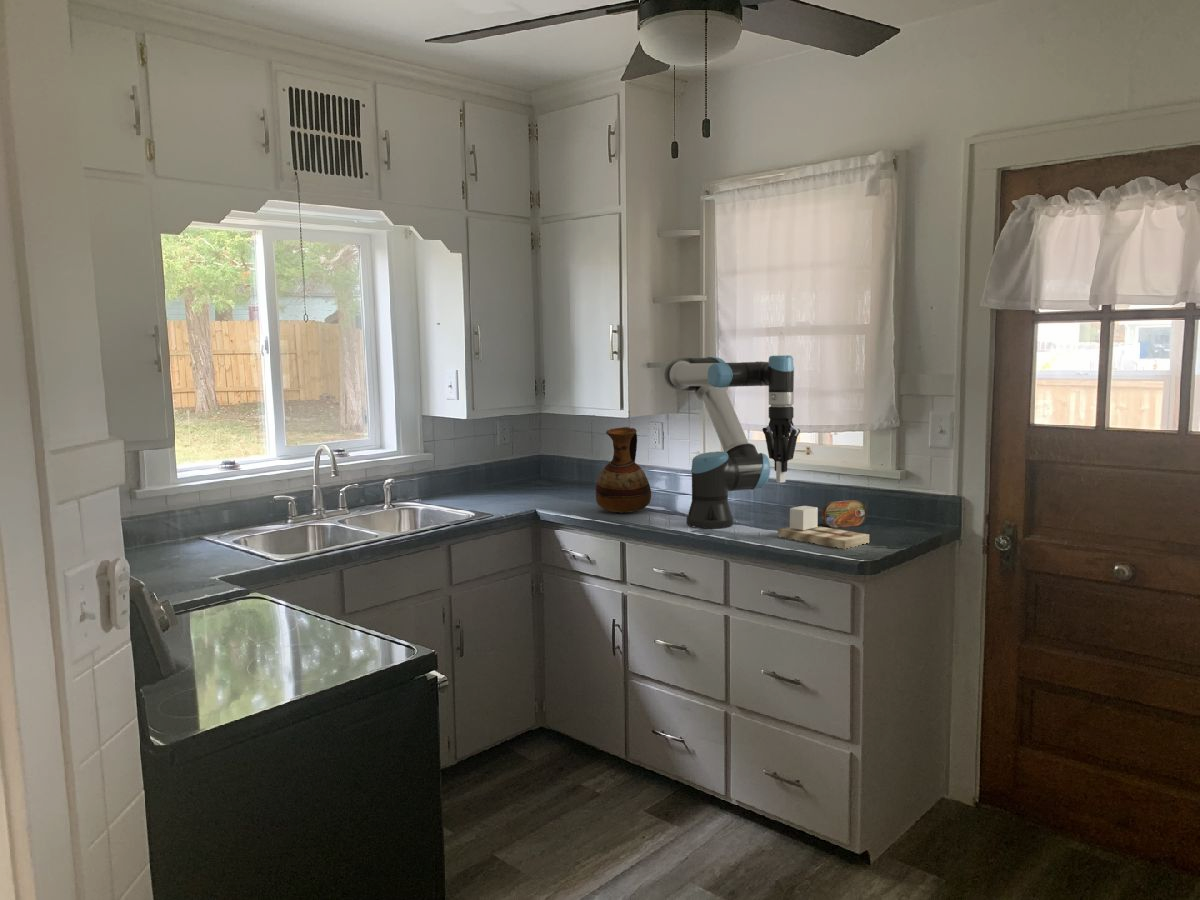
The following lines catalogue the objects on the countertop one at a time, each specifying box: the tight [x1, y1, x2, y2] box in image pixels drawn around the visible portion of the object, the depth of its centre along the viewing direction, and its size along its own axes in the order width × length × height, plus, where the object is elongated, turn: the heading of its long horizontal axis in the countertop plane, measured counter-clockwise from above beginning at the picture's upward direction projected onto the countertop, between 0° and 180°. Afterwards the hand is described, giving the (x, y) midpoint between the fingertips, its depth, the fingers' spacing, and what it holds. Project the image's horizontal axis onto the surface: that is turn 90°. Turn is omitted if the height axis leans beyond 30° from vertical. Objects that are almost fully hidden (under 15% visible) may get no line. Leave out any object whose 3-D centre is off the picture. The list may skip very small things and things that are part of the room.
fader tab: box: [789, 505, 819, 530], centre depth 280 cm, size 5×7×6 cm
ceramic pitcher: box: [595, 426, 652, 514], centre depth 328 cm, size 20×20×30 cm
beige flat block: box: [777, 525, 870, 550], centre depth 275 cm, size 24×12×3 cm, turn 40°
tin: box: [821, 499, 867, 529], centre depth 295 cm, size 15×3×8 cm, turn 106°
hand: (780, 482), depth 286 cm, fingers closed
